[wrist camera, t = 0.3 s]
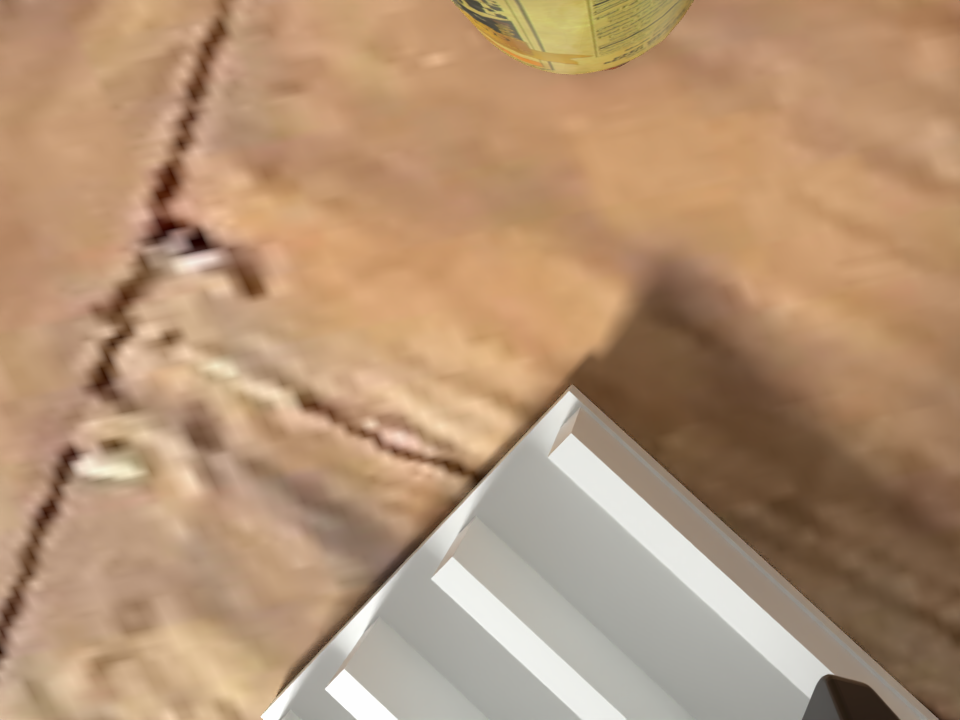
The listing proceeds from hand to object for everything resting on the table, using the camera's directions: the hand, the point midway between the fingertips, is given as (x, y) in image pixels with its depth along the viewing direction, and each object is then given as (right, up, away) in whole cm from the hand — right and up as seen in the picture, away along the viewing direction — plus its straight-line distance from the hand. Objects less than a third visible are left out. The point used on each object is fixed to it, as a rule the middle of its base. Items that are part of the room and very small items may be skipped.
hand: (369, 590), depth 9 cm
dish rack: (+4, -8, +16) cm, 18 cm away
